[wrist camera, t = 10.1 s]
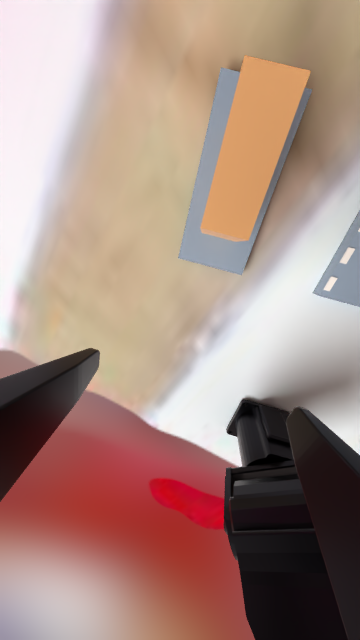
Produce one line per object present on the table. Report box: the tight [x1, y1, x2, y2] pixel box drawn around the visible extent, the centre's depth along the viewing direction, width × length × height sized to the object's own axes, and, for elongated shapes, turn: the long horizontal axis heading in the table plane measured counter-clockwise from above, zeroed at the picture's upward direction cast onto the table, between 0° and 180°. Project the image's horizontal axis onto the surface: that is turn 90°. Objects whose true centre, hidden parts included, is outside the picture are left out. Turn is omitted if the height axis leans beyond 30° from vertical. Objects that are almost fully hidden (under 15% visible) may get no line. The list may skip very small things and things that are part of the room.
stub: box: [178, 55, 312, 275], centre depth 12 cm, size 12×6×6 cm, turn 166°
